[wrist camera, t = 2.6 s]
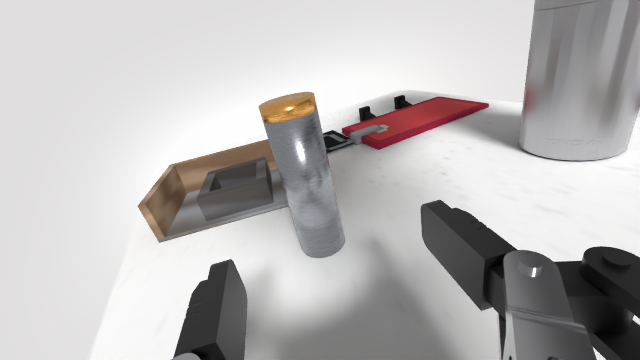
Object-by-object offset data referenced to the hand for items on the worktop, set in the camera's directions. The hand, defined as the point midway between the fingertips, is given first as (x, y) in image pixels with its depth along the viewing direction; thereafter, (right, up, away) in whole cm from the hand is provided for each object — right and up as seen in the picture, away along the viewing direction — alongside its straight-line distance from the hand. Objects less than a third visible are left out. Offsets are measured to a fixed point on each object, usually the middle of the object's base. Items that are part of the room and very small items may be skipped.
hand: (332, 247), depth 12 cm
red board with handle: (+12, +12, +39) cm, 42 cm away
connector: (0, -3, +14) cm, 14 cm away
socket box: (-10, 0, +25) cm, 27 cm away
